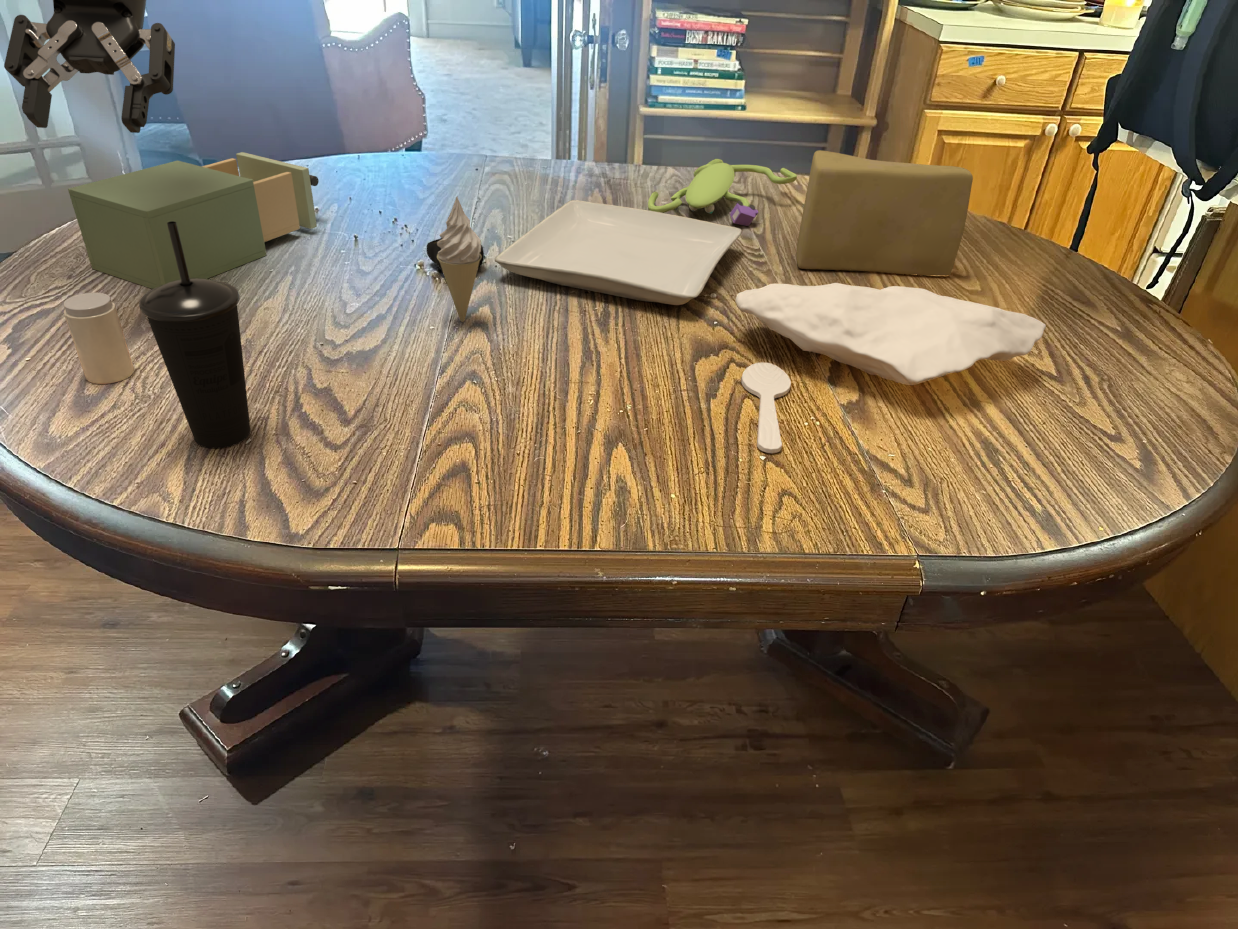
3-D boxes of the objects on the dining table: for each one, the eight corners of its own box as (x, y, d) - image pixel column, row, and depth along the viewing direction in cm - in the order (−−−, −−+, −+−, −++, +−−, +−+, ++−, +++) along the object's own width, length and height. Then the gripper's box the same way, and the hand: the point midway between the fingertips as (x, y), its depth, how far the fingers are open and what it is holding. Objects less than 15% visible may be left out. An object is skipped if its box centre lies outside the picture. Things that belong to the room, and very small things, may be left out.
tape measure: (426, 263, 116) (423, 236, 113) (474, 257, 118) (473, 230, 116) (441, 282, 111) (439, 254, 109) (491, 275, 113) (490, 248, 111)
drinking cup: (259, 406, 83) (216, 203, 72) (273, 446, 78) (230, 233, 67) (173, 422, 80) (114, 212, 69) (182, 464, 75) (120, 244, 63)
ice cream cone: (451, 333, 99) (444, 205, 90) (434, 316, 102) (425, 191, 94) (491, 325, 101) (487, 199, 93) (472, 309, 104) (467, 186, 96)
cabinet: (194, 234, 119) (177, 160, 113) (266, 255, 114) (253, 179, 109) (92, 268, 107) (67, 188, 102) (168, 294, 103) (146, 211, 97)
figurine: (801, 197, 150) (807, 165, 147) (740, 238, 131) (746, 202, 128) (707, 176, 157) (711, 145, 154) (636, 212, 138) (639, 177, 135)
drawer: (274, 202, 129) (264, 145, 124) (337, 219, 125) (330, 161, 120) (169, 237, 115) (154, 175, 110) (237, 257, 111) (224, 193, 106)
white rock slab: (1069, 425, 87) (1099, 339, 83) (728, 382, 90) (741, 297, 86) (1003, 354, 108) (1025, 283, 104) (729, 321, 111) (739, 250, 107)
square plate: (570, 220, 133) (570, 195, 131) (740, 251, 126) (744, 225, 124) (492, 282, 112) (491, 253, 109) (692, 323, 105) (696, 293, 103)
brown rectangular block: (944, 264, 127) (974, 161, 119) (954, 289, 119) (987, 181, 111) (795, 247, 129) (814, 144, 121) (795, 270, 121) (816, 163, 113)
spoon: (741, 449, 82) (742, 445, 82) (741, 363, 97) (742, 359, 96) (797, 456, 82) (798, 451, 81) (788, 368, 96) (789, 364, 96)
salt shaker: (75, 376, 86) (50, 302, 81) (114, 359, 89) (92, 287, 85) (105, 388, 84) (81, 314, 80) (144, 370, 88) (122, 298, 83)
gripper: (3, -61, 79) (-23, 98, 76) (162, -51, 80) (143, 106, 77) (50, -4, 86) (29, 143, 83) (195, 5, 87) (179, 151, 84)
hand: (83, 125), depth 80 cm, fingers open, 8 cm apart
